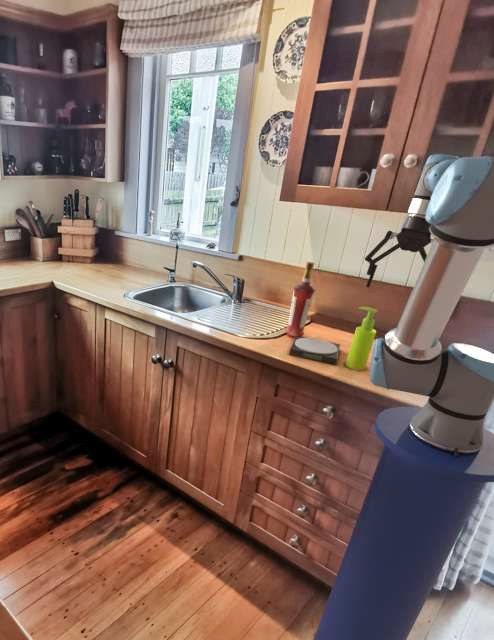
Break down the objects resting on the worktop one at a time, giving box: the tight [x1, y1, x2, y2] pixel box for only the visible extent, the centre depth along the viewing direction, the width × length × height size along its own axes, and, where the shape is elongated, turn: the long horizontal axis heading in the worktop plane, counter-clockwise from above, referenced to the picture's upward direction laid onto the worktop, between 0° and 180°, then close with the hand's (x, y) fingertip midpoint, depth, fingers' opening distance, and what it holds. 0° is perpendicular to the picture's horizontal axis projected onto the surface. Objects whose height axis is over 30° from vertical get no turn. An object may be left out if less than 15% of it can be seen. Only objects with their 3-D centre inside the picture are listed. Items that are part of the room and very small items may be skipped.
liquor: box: [284, 261, 316, 339], centre depth 172 cm, size 7×7×28 cm
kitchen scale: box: [288, 335, 341, 365], centre depth 163 cm, size 15×15×3 cm
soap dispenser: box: [345, 306, 379, 371], centre depth 150 cm, size 6×7×20 cm
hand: (392, 292), depth 136 cm, fingers open, 13 cm apart
